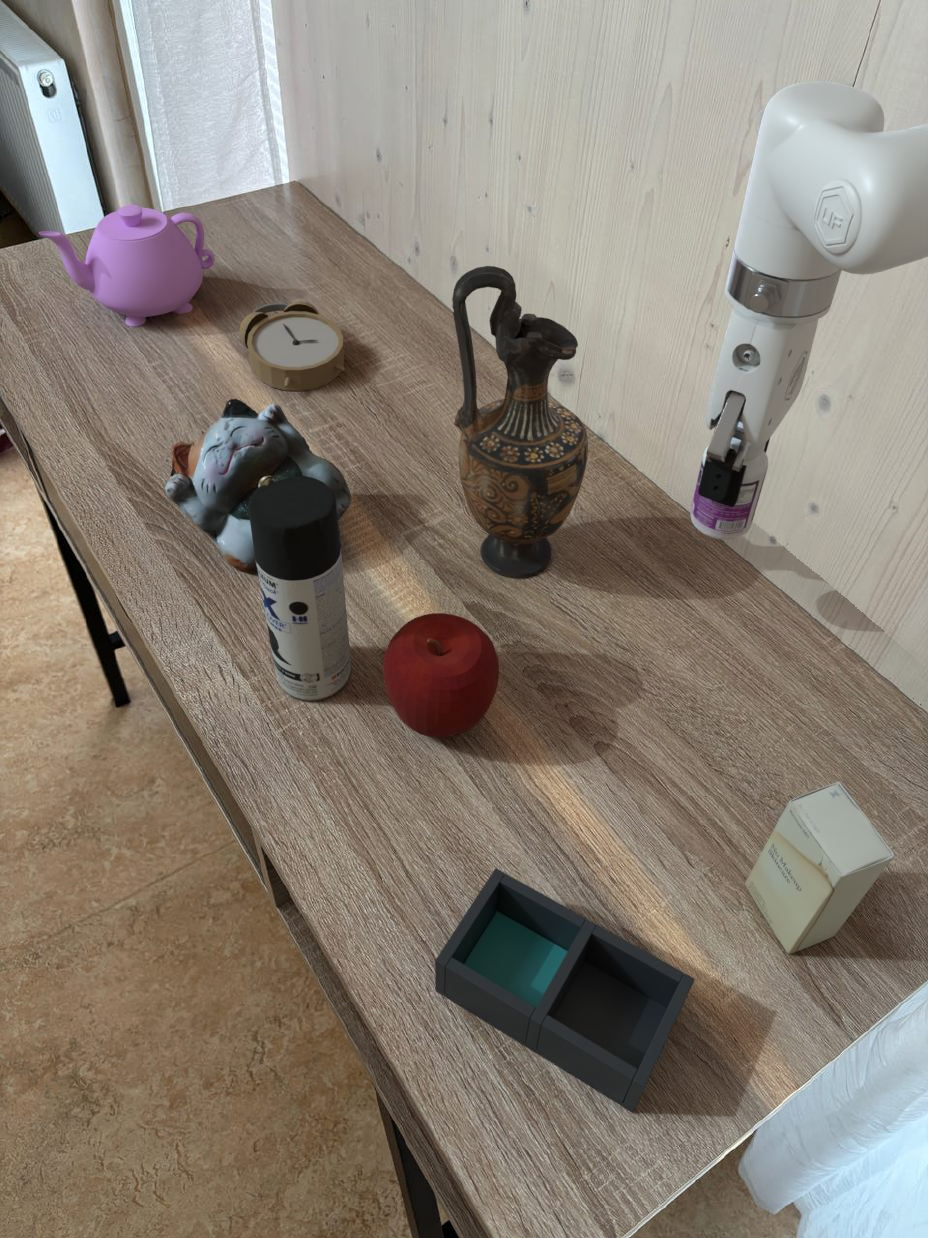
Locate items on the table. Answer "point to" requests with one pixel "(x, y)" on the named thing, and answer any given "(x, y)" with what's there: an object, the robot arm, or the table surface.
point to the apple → (440, 674)
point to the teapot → (139, 263)
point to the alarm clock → (292, 346)
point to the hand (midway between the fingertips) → (731, 477)
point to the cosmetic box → (816, 867)
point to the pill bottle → (738, 518)
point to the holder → (562, 987)
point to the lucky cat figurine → (243, 474)
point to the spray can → (302, 585)
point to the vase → (517, 433)
